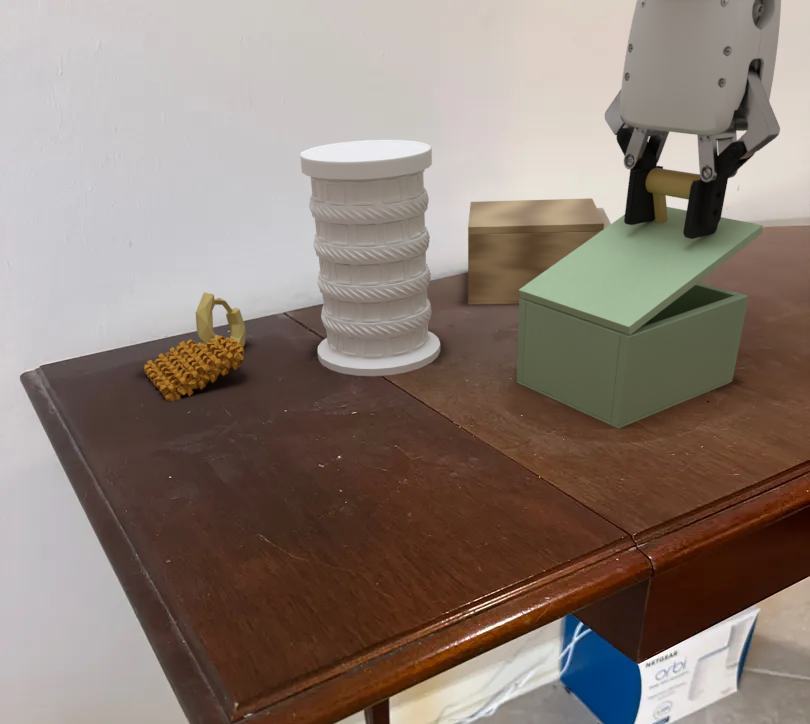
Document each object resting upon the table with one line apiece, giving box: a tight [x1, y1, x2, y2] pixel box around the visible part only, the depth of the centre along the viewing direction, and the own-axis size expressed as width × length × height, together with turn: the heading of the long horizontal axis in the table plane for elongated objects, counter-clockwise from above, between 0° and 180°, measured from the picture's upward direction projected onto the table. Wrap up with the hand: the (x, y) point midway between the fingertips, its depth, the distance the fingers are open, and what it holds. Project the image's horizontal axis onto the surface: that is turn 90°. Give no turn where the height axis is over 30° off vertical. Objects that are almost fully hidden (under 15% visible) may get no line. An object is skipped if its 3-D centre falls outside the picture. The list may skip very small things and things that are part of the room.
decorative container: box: [299, 139, 441, 377], centre depth 72 cm, size 12×12×18 cm
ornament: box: [143, 292, 246, 402], centre depth 74 cm, size 7×10×15 cm
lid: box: [519, 168, 763, 335], centre depth 62 cm, size 14×12×5 cm
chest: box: [516, 281, 750, 429], centre depth 67 cm, size 14×12×8 cm
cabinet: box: [467, 197, 604, 305], centre depth 89 cm, size 14×12×9 cm
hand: (669, 226), depth 63 cm, fingers closed on lid, 5 cm apart
